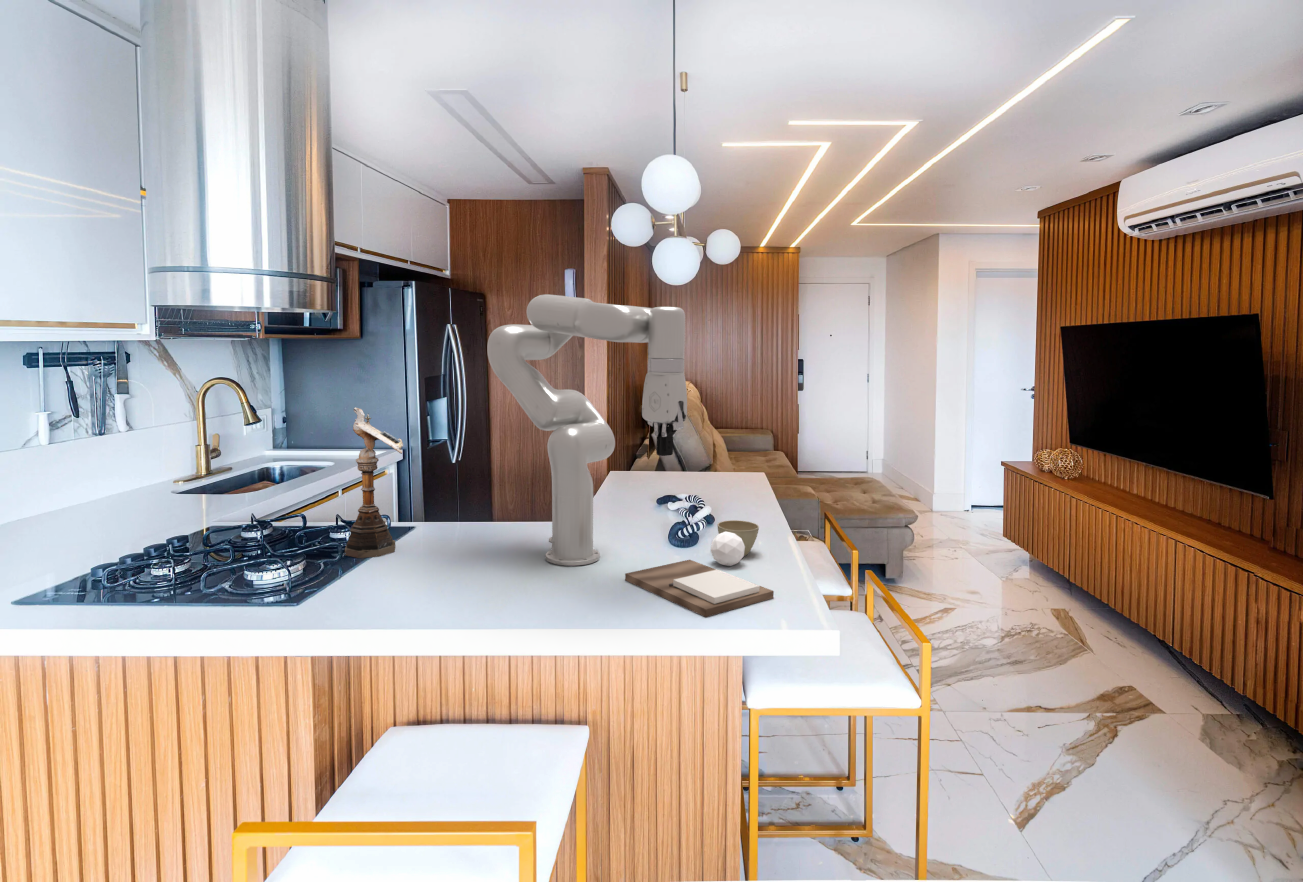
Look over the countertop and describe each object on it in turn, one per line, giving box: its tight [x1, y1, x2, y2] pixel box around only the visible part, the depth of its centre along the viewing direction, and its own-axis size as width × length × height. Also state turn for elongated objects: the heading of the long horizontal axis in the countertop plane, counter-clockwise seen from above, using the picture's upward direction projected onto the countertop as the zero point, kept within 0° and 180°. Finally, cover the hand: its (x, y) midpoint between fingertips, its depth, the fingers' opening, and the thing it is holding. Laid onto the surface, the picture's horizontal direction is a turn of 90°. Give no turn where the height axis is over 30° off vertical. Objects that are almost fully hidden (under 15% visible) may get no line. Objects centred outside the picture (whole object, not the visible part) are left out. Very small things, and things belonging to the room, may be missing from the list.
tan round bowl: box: [717, 519, 760, 557], centre depth 176 cm, size 10×10×7 cm
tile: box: [673, 569, 761, 604], centre depth 145 cm, size 12×12×1 cm
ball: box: [710, 531, 745, 567], centre depth 167 cm, size 8×8×8 cm
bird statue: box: [344, 407, 404, 559], centre depth 173 cm, size 17×13×35 cm
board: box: [624, 559, 775, 618], centre depth 150 cm, size 26×18×2 cm
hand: (664, 454), depth 152 cm, fingers closed
